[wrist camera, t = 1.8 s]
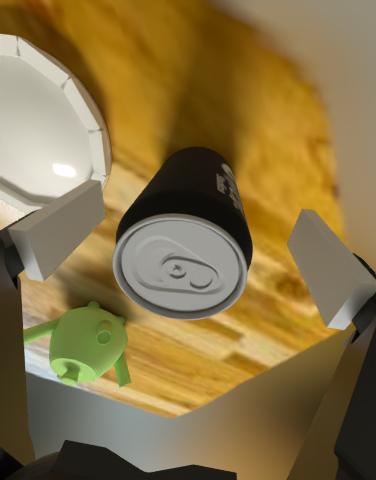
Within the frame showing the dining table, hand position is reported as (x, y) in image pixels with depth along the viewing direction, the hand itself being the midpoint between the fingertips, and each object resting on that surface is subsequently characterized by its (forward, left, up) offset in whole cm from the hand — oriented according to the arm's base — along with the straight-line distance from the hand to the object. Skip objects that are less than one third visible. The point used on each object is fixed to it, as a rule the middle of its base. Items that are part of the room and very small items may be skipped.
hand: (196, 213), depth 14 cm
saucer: (-14, +2, -6) cm, 16 cm away
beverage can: (0, 0, -6) cm, 6 cm away
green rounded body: (-11, -21, -6) cm, 25 cm away
